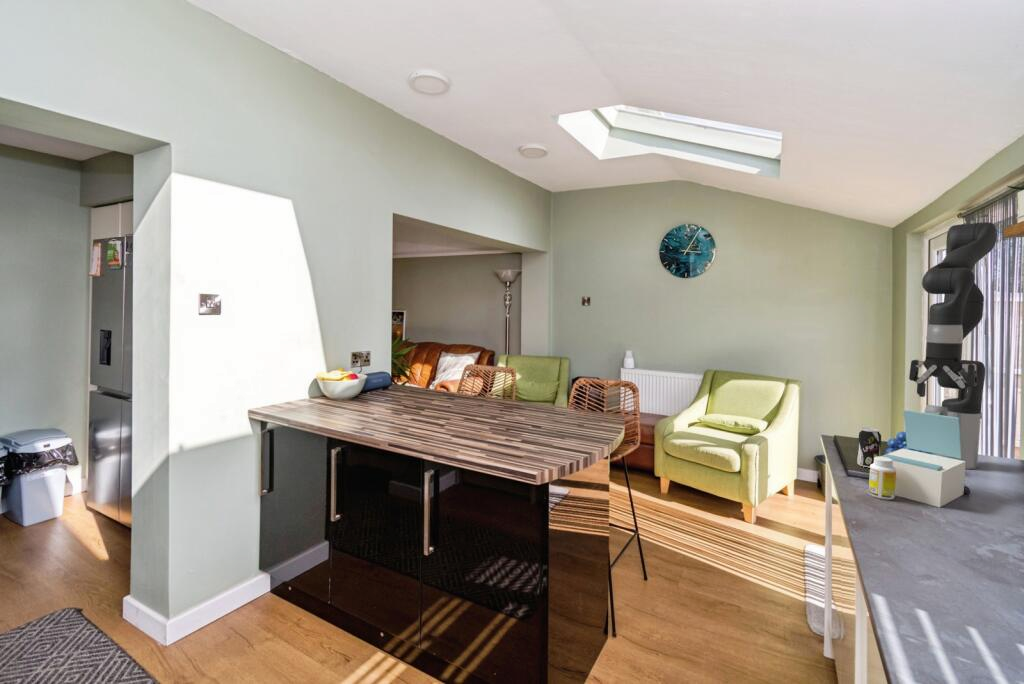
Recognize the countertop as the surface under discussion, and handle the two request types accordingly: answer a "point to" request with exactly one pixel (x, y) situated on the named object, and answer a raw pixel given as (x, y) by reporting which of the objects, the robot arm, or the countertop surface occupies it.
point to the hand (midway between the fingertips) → (940, 398)
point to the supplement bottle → (882, 478)
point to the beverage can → (868, 446)
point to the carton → (927, 477)
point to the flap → (933, 431)
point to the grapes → (900, 443)
